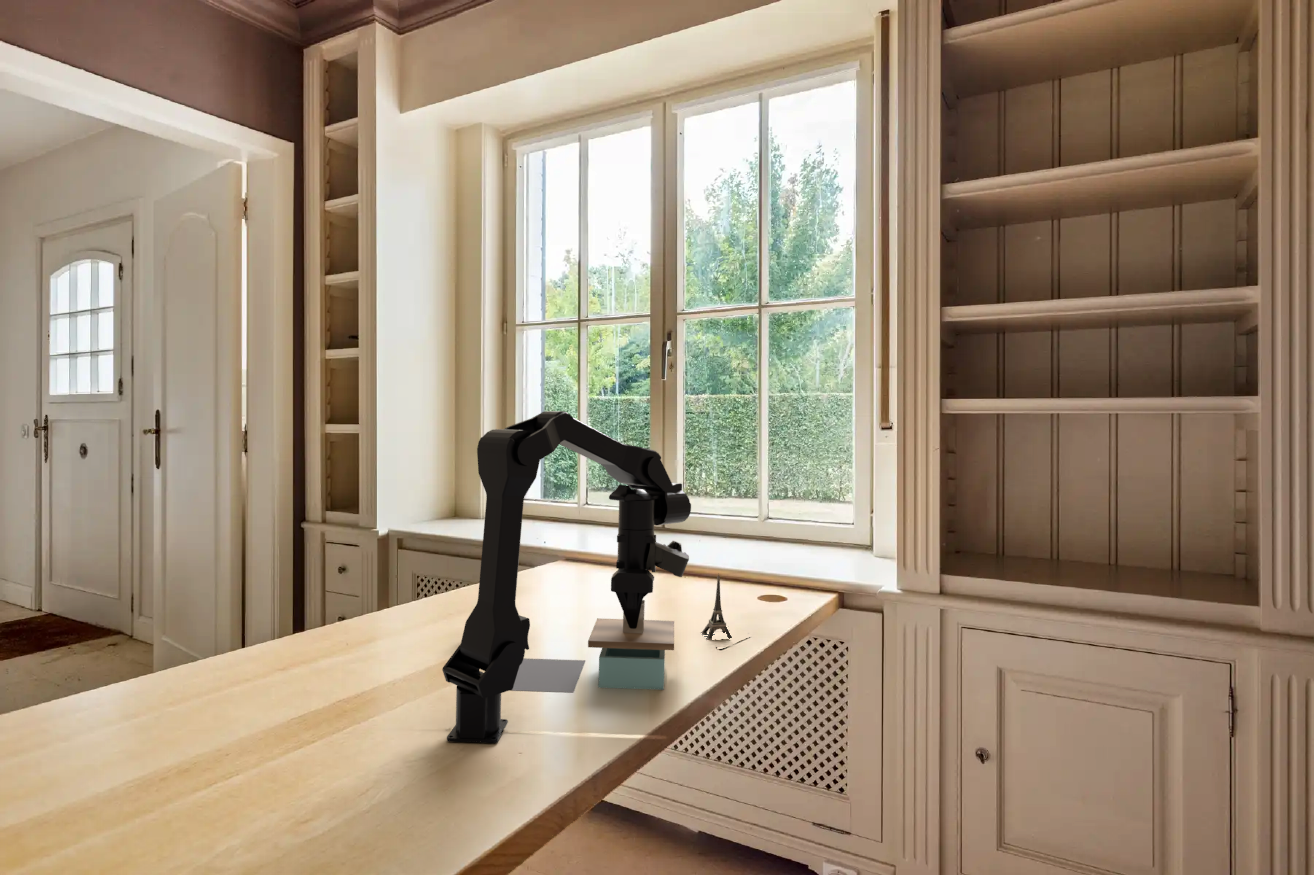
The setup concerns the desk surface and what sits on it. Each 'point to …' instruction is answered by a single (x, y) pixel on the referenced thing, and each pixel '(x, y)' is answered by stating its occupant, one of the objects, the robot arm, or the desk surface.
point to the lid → (633, 634)
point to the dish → (631, 668)
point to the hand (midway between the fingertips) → (633, 625)
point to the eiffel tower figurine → (715, 622)
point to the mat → (548, 675)
